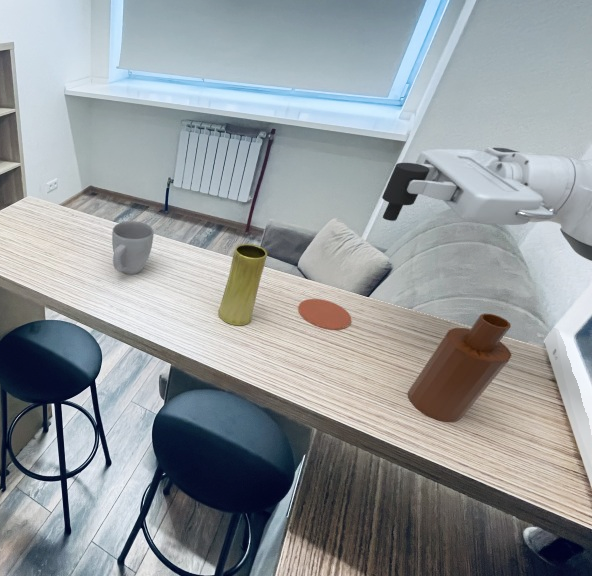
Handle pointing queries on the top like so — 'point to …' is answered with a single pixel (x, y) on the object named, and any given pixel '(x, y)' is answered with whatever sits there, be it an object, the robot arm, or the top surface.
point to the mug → (131, 246)
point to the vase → (242, 284)
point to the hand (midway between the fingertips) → (401, 178)
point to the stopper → (401, 188)
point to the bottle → (461, 369)
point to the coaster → (324, 314)
